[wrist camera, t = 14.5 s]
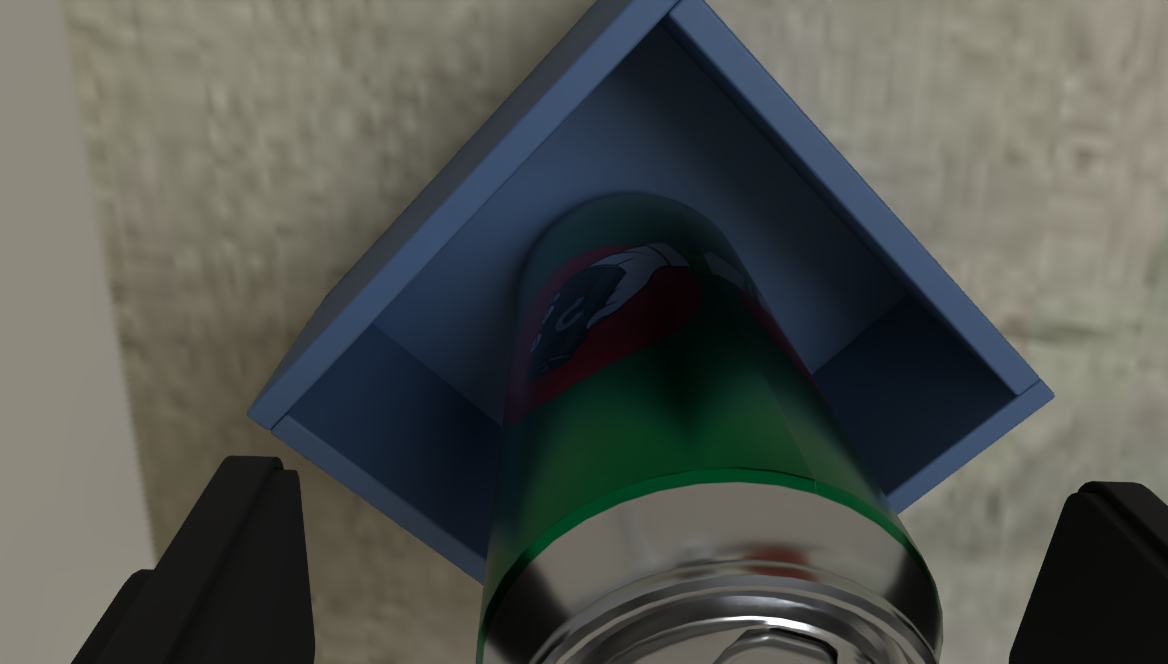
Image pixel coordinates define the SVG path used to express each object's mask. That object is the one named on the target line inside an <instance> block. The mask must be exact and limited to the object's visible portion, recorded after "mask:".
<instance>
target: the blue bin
mask: <svg viewBox="0 0 1168 664" xmlns="http://www.w3.org/2000/svg"><path fill="white" fill-rule="evenodd" d="M635 193H641V194H650V195H658V196H662V197H666V198H669V199H673V200H676V201H679V202H681V203H683V204H685V205H687V206H690V207H692V208H694V209H695V210H697V211H698V212H700V213H701V214H703V215H704V216H706V217H707V218H708V219H709V220H710V221H711V222H713V223H714V224H715V225H716V226H717V227H718V228H719V229H720V230H721V231H722V233H723V234H724V235H725V237H726V238H727V239H728V241H729V242H730V243H731V245H732V246H733V248H734V250H735V251H736V253H737V255H738V256H739V258H740V260H741V261H742V263H743V264H744V266H745V268H746V269H747V271H748V273H749V274H750V276H751V277H752V279H753V281H754V282H755V284H756V286H757V287H758V289H759V291H760V292H761V294H762V295H763V297H764V299H765V300H766V302H767V304H768V305H769V307H770V308H771V310H772V312H773V313H774V315H775V317H776V318H777V320H778V322H779V323H780V325H781V326H782V328H783V330H784V331H785V333H786V335H787V336H788V338H789V339H790V341H791V343H792V344H793V346H794V348H795V349H796V351H797V353H798V354H799V356H800V357H801V359H802V361H803V362H804V364H805V366H806V367H807V369H808V370H809V372H810V374H811V375H812V377H813V379H814V380H815V382H816V384H817V385H818V387H819V388H820V390H821V392H822V393H823V395H824V397H825V398H826V400H827V401H828V403H829V405H830V406H831V408H832V410H833V411H834V413H835V415H836V416H837V418H838V419H839V421H840V423H841V424H842V426H843V428H844V429H845V431H846V432H847V434H848V436H849V437H850V439H851V441H852V442H853V444H854V446H855V447H856V449H857V450H858V452H859V454H860V455H861V457H862V459H863V460H864V462H865V463H866V465H867V467H868V468H869V470H870V472H871V473H872V475H873V477H874V478H875V480H876V481H877V483H878V485H879V486H880V488H881V490H882V491H883V493H884V495H885V496H886V498H887V499H888V501H889V503H890V504H891V506H892V508H893V509H894V511H895V512H896V514H897V515H898V514H899V513H901V512H902V511H903V510H905V509H906V508H907V507H909V506H910V505H911V504H913V503H914V502H915V501H917V500H918V499H919V498H921V497H922V496H923V495H925V494H926V493H927V492H929V491H930V490H931V489H933V488H934V487H935V486H937V485H938V484H939V483H941V482H942V481H943V480H945V479H946V478H947V477H949V476H950V475H951V474H953V473H954V472H955V471H957V470H958V469H959V468H961V467H962V466H963V465H965V464H966V463H967V462H969V461H970V460H971V459H973V458H974V457H975V456H977V455H978V454H979V453H981V452H982V451H983V450H985V449H986V448H987V447H989V446H990V445H991V444H993V443H994V442H995V441H997V440H998V439H999V438H1001V437H1002V436H1003V435H1005V434H1006V433H1007V432H1009V431H1010V430H1012V429H1013V428H1014V427H1016V426H1017V425H1018V424H1020V423H1021V422H1022V421H1024V420H1025V419H1026V418H1028V417H1029V416H1030V415H1032V414H1033V413H1034V412H1036V411H1037V410H1038V409H1040V408H1041V407H1042V406H1044V405H1045V404H1046V403H1048V402H1049V401H1050V400H1052V399H1053V398H1054V397H1055V396H1054V393H1053V392H1052V391H1051V389H1050V388H1049V387H1048V386H1047V385H1046V384H1045V383H1044V382H1043V380H1042V379H1040V378H1039V377H1038V375H1037V374H1036V373H1035V371H1034V370H1033V369H1032V368H1031V367H1030V366H1029V365H1028V364H1027V362H1026V361H1025V360H1024V359H1023V358H1022V357H1021V356H1020V355H1019V353H1018V352H1017V351H1016V350H1015V349H1014V348H1013V347H1012V346H1011V344H1010V343H1009V342H1008V341H1007V340H1006V339H1005V338H1004V337H1003V335H1002V334H1001V333H1000V332H999V331H998V330H997V329H996V328H995V327H994V325H993V324H992V323H991V322H990V321H989V320H988V319H987V318H986V316H985V315H984V314H983V313H982V312H981V311H980V310H979V309H978V307H977V306H976V305H975V304H974V303H973V302H972V301H971V300H970V298H969V297H968V296H967V295H966V294H965V293H964V292H963V291H962V289H961V288H960V287H959V286H958V285H957V284H956V283H955V282H954V280H953V279H952V278H951V277H950V276H949V275H948V274H947V273H946V271H945V270H944V269H943V268H942V267H941V266H940V265H939V264H938V262H937V261H936V260H935V259H934V258H933V257H932V256H931V255H930V253H929V252H928V251H927V250H926V249H925V248H924V247H923V246H922V244H921V243H920V242H919V241H918V240H917V239H916V238H915V237H914V235H913V234H912V233H911V232H910V231H909V230H908V229H907V228H906V227H905V225H904V224H903V223H902V222H901V221H900V220H899V219H898V218H897V216H896V215H895V214H894V213H893V212H892V211H891V210H890V209H889V207H888V206H887V205H886V204H885V203H884V202H883V201H882V200H881V198H880V197H879V196H878V195H877V194H876V193H875V192H874V191H873V189H872V188H871V187H870V186H869V185H868V184H867V183H866V182H865V180H864V179H863V178H862V177H861V176H860V175H859V174H858V173H857V171H856V170H855V169H854V168H853V167H852V166H851V165H850V164H849V162H848V161H847V160H846V159H845V158H844V157H843V156H842V155H841V153H840V152H839V151H838V150H837V149H836V148H835V147H834V146H833V144H832V143H831V142H830V141H829V140H828V139H827V138H826V137H825V135H824V134H823V133H822V132H821V131H820V130H819V129H818V128H817V127H816V125H815V124H814V123H813V122H812V121H811V120H810V119H809V118H808V116H807V115H806V114H805V113H804V112H803V111H802V110H801V109H800V107H799V106H798V105H797V104H796V103H795V102H794V101H793V100H792V98H791V97H790V96H789V95H788V94H787V93H786V92H785V91H784V89H783V88H782V87H781V86H780V85H779V84H778V83H777V82H776V80H775V79H774V78H773V77H772V76H771V75H770V74H769V73H768V71H767V70H766V69H765V68H764V67H763V66H762V65H761V64H760V62H759V61H758V60H757V59H756V58H755V57H754V56H753V55H752V53H751V52H750V51H749V50H748V49H747V48H746V47H745V46H744V44H743V43H742V42H741V41H740V40H739V39H738V38H737V37H736V35H735V34H734V33H733V32H732V31H731V30H730V29H729V28H728V27H727V25H726V24H725V23H724V22H723V21H722V20H721V19H720V18H719V16H718V15H717V14H716V13H715V12H714V11H713V10H712V9H711V7H710V6H709V5H708V4H707V3H706V2H705V1H704V0H597V1H596V2H595V4H594V5H593V6H592V7H591V8H590V9H589V10H588V11H587V12H586V13H585V14H584V16H583V17H582V18H581V19H580V20H579V21H578V22H577V23H576V24H575V25H574V26H573V28H572V29H571V30H570V31H569V32H568V33H567V34H566V35H565V36H564V37H563V38H562V40H561V41H560V42H559V43H558V44H557V45H556V46H555V47H554V48H553V49H552V50H551V52H550V53H549V54H548V55H547V56H546V57H545V58H544V59H543V60H542V61H541V62H540V64H539V65H538V66H537V67H536V68H535V69H534V70H533V71H532V72H531V73H530V74H529V75H528V77H527V78H526V79H525V80H524V81H523V82H522V83H521V84H520V85H519V86H518V87H517V89H516V90H515V91H514V92H513V93H512V94H511V95H510V96H509V97H508V98H507V99H506V101H505V102H504V103H503V104H502V105H501V106H500V107H499V108H498V109H497V110H496V111H495V113H494V114H493V115H492V116H491V117H490V118H489V119H488V120H487V121H486V122H485V123H484V125H483V126H482V127H481V128H480V129H479V130H478V131H477V132H476V133H475V134H474V135H473V137H472V138H471V139H470V140H469V141H468V142H467V143H466V144H465V145H464V146H463V147H462V149H461V150H460V151H459V152H458V153H457V154H456V155H455V156H454V157H453V158H452V159H451V161H450V162H449V163H448V164H447V165H446V166H445V167H444V168H443V169H442V170H441V171H440V173H439V174H438V175H437V176H436V177H435V178H434V179H433V180H432V181H431V182H430V183H429V185H428V186H427V187H426V188H425V189H424V190H423V191H422V192H421V193H420V194H419V195H418V197H417V198H416V199H415V200H414V201H413V202H412V203H411V204H410V205H409V206H408V207H407V208H406V210H405V211H404V212H403V213H402V214H401V215H400V216H399V217H398V218H397V219H396V220H395V222H394V223H393V224H392V225H391V226H390V227H389V228H388V229H387V230H386V231H385V232H384V234H383V235H382V236H381V237H380V238H379V239H378V240H377V241H376V242H375V243H374V244H373V246H372V247H371V248H370V249H369V250H368V251H367V252H366V253H365V254H364V255H363V256H362V258H361V259H360V260H359V261H358V262H357V263H356V264H355V265H354V266H353V267H352V268H351V270H350V271H349V272H348V273H347V274H346V275H345V276H344V277H343V278H342V279H341V280H340V282H339V283H338V284H337V285H336V286H335V287H334V288H333V289H332V290H331V291H330V292H329V294H328V295H327V296H326V297H325V298H324V300H323V301H322V303H321V304H320V306H319V307H318V309H317V310H316V312H315V313H314V315H313V316H312V318H311V319H310V320H309V322H308V323H307V325H306V326H305V328H304V329H303V331H302V332H301V334H300V335H299V337H298V338H297V340H296V341H295V342H294V344H293V345H292V347H291V348H290V350H289V351H288V353H287V354H286V356H285V357H284V359H283V360H282V362H281V363H280V364H279V366H278V367H277V369H276V370H275V372H274V373H273V375H272V376H271V378H270V379H269V381H268V382H267V383H266V385H265V386H264V388H263V389H262V391H261V392H260V394H259V395H258V397H257V398H256V400H255V401H254V403H253V404H252V405H251V407H250V408H249V410H248V411H247V416H248V417H249V418H251V419H252V420H254V421H255V422H256V423H258V424H259V425H260V426H262V427H263V428H265V429H266V430H270V429H271V433H272V434H273V435H274V436H276V437H277V438H279V439H280V440H281V441H283V442H284V443H286V444H287V445H288V446H290V447H291V448H293V449H294V450H295V451H297V452H298V453H300V454H301V455H302V456H304V457H305V458H306V459H308V460H309V461H311V462H312V463H313V464H315V465H316V466H318V467H319V468H320V469H322V470H323V471H325V472H326V473H327V474H329V475H330V476H332V477H333V478H334V479H336V480H337V481H339V482H340V483H341V484H343V485H344V486H346V487H347V488H348V489H350V490H351V491H352V492H354V493H355V494H357V495H358V496H359V497H361V498H362V499H364V500H365V501H366V502H368V503H369V504H371V505H372V506H373V507H375V508H376V509H378V510H379V511H380V512H382V513H383V514H385V515H386V516H387V517H389V518H390V519H392V520H393V521H394V522H396V523H397V524H398V525H400V526H401V527H403V528H404V529H405V530H407V531H408V532H410V533H411V534H412V535H414V536H415V537H417V538H418V539H419V540H421V541H422V542H424V543H425V544H426V545H428V546H429V547H431V548H432V549H433V550H435V551H436V552H438V553H439V554H440V555H442V556H443V557H444V558H446V559H447V560H449V561H450V562H451V563H453V564H454V565H456V566H457V567H458V568H460V569H461V570H463V571H464V572H465V573H467V574H468V575H470V576H471V577H472V578H474V579H475V580H477V581H478V582H479V583H481V584H482V585H484V579H485V570H486V561H487V553H488V544H489V535H490V527H491V518H492V509H493V501H494V492H495V483H496V474H497V466H498V457H499V448H500V440H501V431H502V422H503V414H504V405H505V396H506V387H507V379H508V370H509V361H510V353H511V344H512V335H513V327H514V318H515V309H516V301H517V292H518V285H519V281H520V277H521V273H522V270H523V267H524V265H525V263H526V261H527V259H528V256H529V254H530V252H531V251H532V249H533V248H534V246H535V245H536V244H537V242H538V241H539V239H540V238H541V237H542V236H543V235H544V234H545V232H546V231H547V230H548V229H549V228H550V227H551V226H552V225H553V224H554V223H556V222H557V221H558V220H560V219H561V218H562V217H563V216H565V215H566V214H567V213H569V212H571V211H573V210H575V209H576V208H578V207H580V206H582V205H584V204H586V203H589V202H592V201H595V200H597V199H600V198H604V197H609V196H614V195H619V194H635Z"/></svg>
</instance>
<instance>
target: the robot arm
mask: <svg viewBox="0 0 1168 664" xmlns="http://www.w3.org/2000/svg"><path fill="white" fill-rule="evenodd" d="M314 657H315V635H314V625H313V615H312V604H311V594H310V584H309V574H308V563H307V553H306V543H305V532H304V522H303V512H302V501H301V491H300V481H299V476H298V473H297V471H295V470H284V468H283V464H282V462H281V459H280V458H278V457H262V456H228V457H226V458H225V459H224V460H223V462H222V463H221V465H220V466H219V468H218V469H217V471H216V472H215V474H214V476H213V477H212V479H211V480H210V482H209V484H208V485H207V487H206V488H205V490H204V491H203V493H202V495H201V496H200V498H199V499H198V501H197V502H196V504H195V506H194V507H193V509H192V510H191V512H190V514H189V515H188V517H187V518H186V520H185V521H184V523H183V525H182V526H181V528H180V529H179V531H178V532H177V534H176V536H175V537H174V539H173V540H172V542H171V544H170V545H169V547H168V548H167V550H166V551H165V553H164V555H163V556H162V558H161V559H160V561H159V562H158V564H157V566H156V567H155V569H154V570H148V569H141V570H139V571H137V572H135V573H134V574H132V575H131V577H130V578H129V579H128V580H127V581H126V582H125V583H124V585H123V586H122V588H121V589H120V591H119V592H118V594H117V595H116V597H115V598H114V600H113V601H112V603H111V604H110V606H109V607H108V609H107V610H106V612H105V613H104V615H103V616H102V618H101V619H100V621H99V622H98V624H97V625H96V627H95V628H94V630H93V631H92V633H91V634H90V636H89V637H88V639H87V640H86V642H85V643H84V645H83V646H82V648H81V649H80V651H79V652H78V654H77V655H76V657H75V658H74V660H73V661H72V663H71V664H314ZM1009 664H1168V506H1167V505H1166V504H1165V503H1164V502H1163V501H1162V500H1160V499H1159V498H1158V497H1157V496H1156V495H1155V494H1154V493H1153V492H1152V491H1151V490H1149V489H1148V488H1147V487H1145V486H1144V485H1142V484H1139V483H1134V482H1102V481H1091V482H1088V483H1085V484H1084V485H1083V486H1082V487H1080V488H1079V490H1078V492H1077V493H1073V494H1071V495H1070V496H1069V497H1068V498H1067V500H1066V502H1065V504H1064V507H1063V509H1062V512H1061V515H1060V517H1059V520H1058V523H1057V526H1056V528H1055V531H1054V534H1053V537H1052V539H1051V542H1050V545H1049V548H1048V550H1047V553H1046V556H1045V559H1044V561H1043V564H1042V567H1041V569H1040V572H1039V575H1038V578H1037V580H1036V583H1035V586H1034V589H1033V591H1032V594H1031V597H1030V600H1029V602H1028V605H1027V608H1026V610H1025V613H1024V616H1023V619H1022V621H1021V624H1020V627H1019V630H1018V632H1017V635H1016V638H1015V641H1014V643H1013V646H1012V649H1011V652H1010V656H1009Z"/></svg>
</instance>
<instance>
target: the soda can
mask: <svg viewBox="0 0 1168 664" xmlns="http://www.w3.org/2000/svg"><path fill="white" fill-rule="evenodd" d="M942 644H943V617H942V608H941V604H940V600H939V596H938V591H937V587H936V584H935V581H934V579H933V577H932V575H931V573H930V571H929V569H928V567H927V565H926V563H925V561H924V559H923V557H922V555H921V553H920V552H919V550H918V548H917V547H916V545H915V543H914V542H913V540H912V539H911V537H910V535H909V534H908V532H907V530H906V529H905V527H904V526H903V524H902V522H901V521H900V519H899V517H898V516H897V514H896V512H895V511H894V509H893V508H892V506H891V504H890V503H889V501H888V499H887V498H886V496H885V495H884V493H883V491H882V490H881V488H880V486H879V485H878V483H877V481H876V480H875V478H874V477H873V475H872V473H871V472H870V470H869V468H868V467H867V465H866V463H865V462H864V460H863V459H862V457H861V455H860V454H859V452H858V450H857V449H856V447H855V446H854V444H853V442H852V441H851V439H850V437H849V436H848V434H847V432H846V431H845V429H844V428H843V426H842V424H841V423H840V421H839V419H838V418H837V416H836V415H835V413H834V411H833V410H832V408H831V406H830V405H829V403H828V401H827V400H826V398H825V397H824V395H823V393H822V392H821V390H820V388H819V387H818V385H817V384H816V382H815V380H814V379H813V377H812V375H811V374H810V372H809V370H808V369H807V367H806V366H805V364H804V362H803V361H802V359H801V357H800V356H799V354H798V353H797V351H796V349H795V348H794V346H793V344H792V343H791V341H790V339H789V338H788V336H787V335H786V333H785V331H784V330H783V328H782V326H781V325H780V323H779V322H778V320H777V318H776V317H775V315H774V313H773V312H772V310H771V308H770V307H769V305H768V304H767V302H766V300H765V299H764V297H763V295H762V294H761V292H760V291H759V289H758V287H757V286H756V284H755V282H754V281H753V279H752V277H751V276H750V274H749V273H748V271H747V269H746V268H745V266H744V264H743V263H742V261H741V260H740V258H739V256H738V255H737V253H736V251H735V250H734V248H733V246H732V245H731V243H730V242H729V241H728V239H727V238H726V237H725V235H724V234H723V233H722V231H721V230H720V229H719V228H718V227H717V226H716V225H715V224H714V223H713V222H711V221H710V220H709V219H708V218H707V217H706V216H704V215H703V214H701V213H700V212H698V211H697V210H695V209H694V208H692V207H690V206H687V205H685V204H683V203H681V202H679V201H676V200H673V199H669V198H666V197H662V196H658V195H650V194H641V193H635V194H619V195H614V196H609V197H604V198H600V199H597V200H595V201H592V202H589V203H586V204H584V205H582V206H580V207H578V208H576V209H575V210H573V211H571V212H569V213H567V214H566V215H565V216H563V217H562V218H561V219H560V220H558V221H557V222H556V223H554V224H553V225H552V226H551V227H550V228H549V229H548V230H547V231H546V232H545V234H544V235H543V236H542V237H541V238H540V239H539V241H538V242H537V244H536V245H535V246H534V248H533V249H532V251H531V252H530V254H529V256H528V259H527V261H526V263H525V265H524V267H523V270H522V273H521V277H520V281H519V285H518V292H517V301H516V309H515V318H514V327H513V335H512V344H511V353H510V361H509V370H508V379H507V387H506V396H505V405H504V414H503V422H502V431H501V440H500V448H499V457H498V466H497V474H496V483H495V492H494V501H493V509H492V518H491V527H490V535H489V544H488V553H487V561H486V570H485V579H484V588H483V596H482V605H481V614H480V622H479V631H478V641H477V652H476V664H939V660H940V654H941V649H942Z"/></svg>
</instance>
